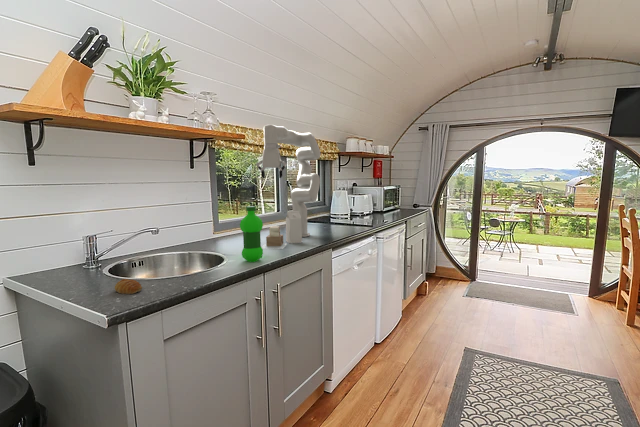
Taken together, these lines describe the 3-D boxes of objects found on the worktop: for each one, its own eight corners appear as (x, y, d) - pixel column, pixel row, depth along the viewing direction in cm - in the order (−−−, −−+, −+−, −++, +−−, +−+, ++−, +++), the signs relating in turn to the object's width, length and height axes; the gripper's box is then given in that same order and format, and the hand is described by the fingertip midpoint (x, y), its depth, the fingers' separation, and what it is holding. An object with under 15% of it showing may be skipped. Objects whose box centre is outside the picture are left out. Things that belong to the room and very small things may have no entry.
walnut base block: (269, 243, 194) (269, 234, 194) (283, 243, 194) (283, 234, 193) (266, 246, 186) (266, 237, 186) (280, 246, 186) (280, 237, 185)
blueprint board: (265, 245, 195) (265, 243, 195) (287, 244, 194) (287, 243, 194) (258, 250, 179) (258, 248, 179) (283, 250, 178) (283, 248, 178)
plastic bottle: (236, 261, 155) (234, 207, 152) (251, 257, 164) (249, 205, 161) (254, 264, 150) (252, 207, 148) (268, 259, 159) (266, 206, 157)
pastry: (147, 290, 116) (147, 279, 115) (128, 297, 110) (127, 285, 110) (131, 286, 121) (130, 276, 120) (112, 292, 115) (111, 281, 114)
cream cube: (271, 235, 192) (271, 226, 192) (280, 235, 192) (279, 226, 191) (269, 236, 187) (269, 227, 187) (278, 236, 187) (278, 227, 186)
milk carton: (286, 243, 200) (285, 211, 198) (297, 242, 202) (296, 210, 201) (290, 245, 193) (289, 211, 191) (302, 244, 196) (301, 211, 194)
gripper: (287, 147, 194) (288, 177, 196) (257, 148, 195) (258, 178, 197) (285, 146, 187) (286, 177, 189) (254, 147, 188) (255, 178, 190)
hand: (272, 178), depth 193 cm, fingers open, 9 cm apart
